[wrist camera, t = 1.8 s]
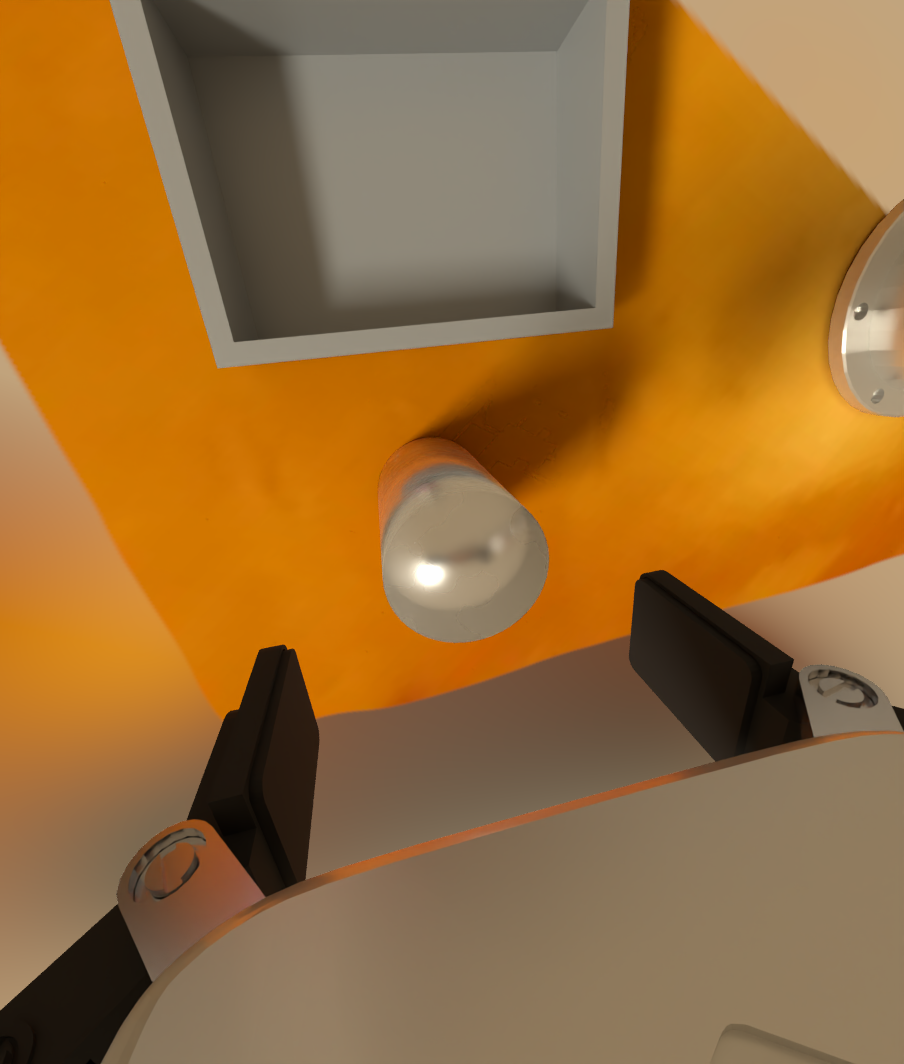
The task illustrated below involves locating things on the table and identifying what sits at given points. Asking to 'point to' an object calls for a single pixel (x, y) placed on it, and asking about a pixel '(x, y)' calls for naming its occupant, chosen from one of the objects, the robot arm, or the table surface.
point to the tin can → (455, 544)
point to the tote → (386, 166)
